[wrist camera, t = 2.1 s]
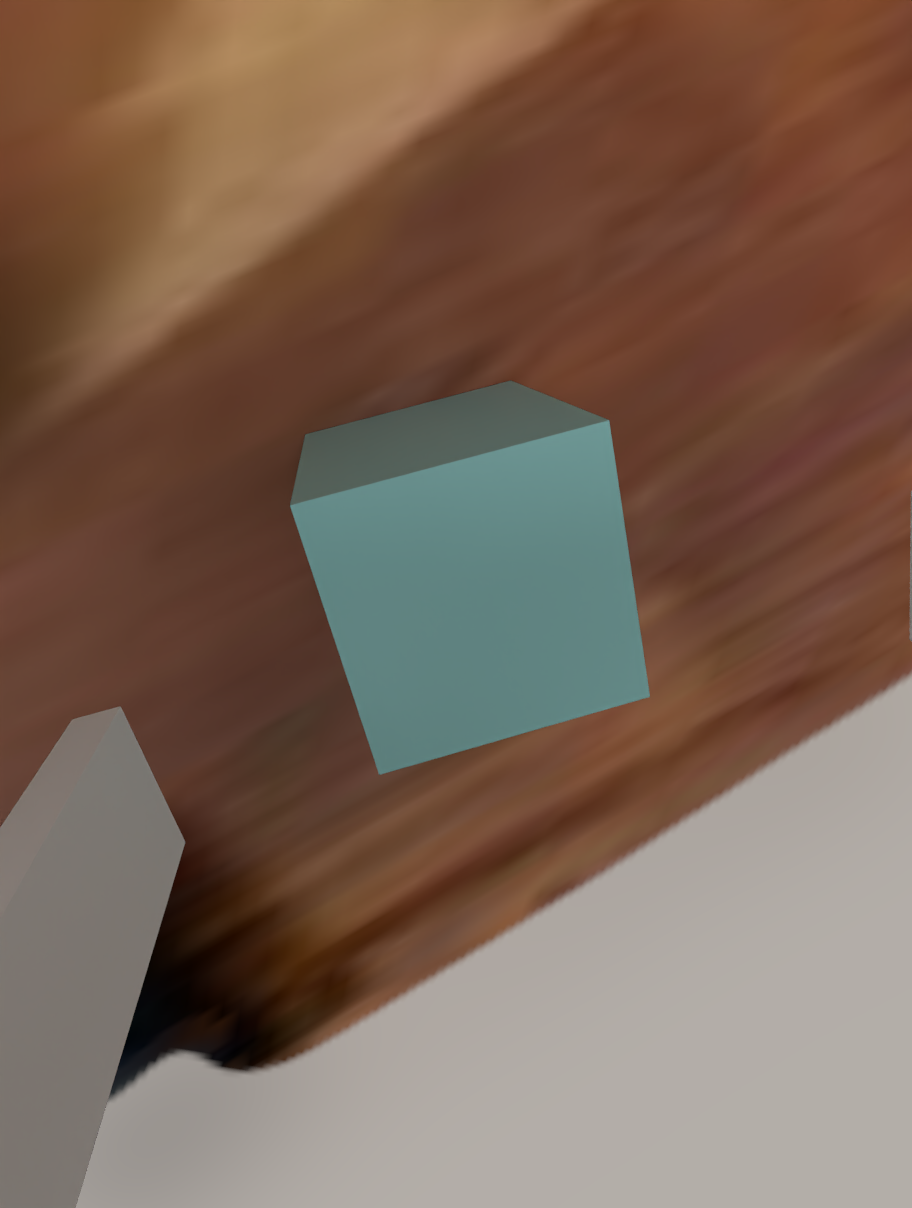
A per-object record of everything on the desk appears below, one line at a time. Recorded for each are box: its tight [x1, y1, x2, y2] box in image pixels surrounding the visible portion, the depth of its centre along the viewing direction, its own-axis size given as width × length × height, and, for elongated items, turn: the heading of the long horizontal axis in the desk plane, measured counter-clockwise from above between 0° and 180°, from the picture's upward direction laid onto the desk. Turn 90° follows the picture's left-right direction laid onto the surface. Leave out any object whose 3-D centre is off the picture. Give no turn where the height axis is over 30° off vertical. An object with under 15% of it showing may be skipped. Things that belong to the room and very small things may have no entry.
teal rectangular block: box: [290, 381, 650, 775], centre depth 18 cm, size 6×6×8 cm
